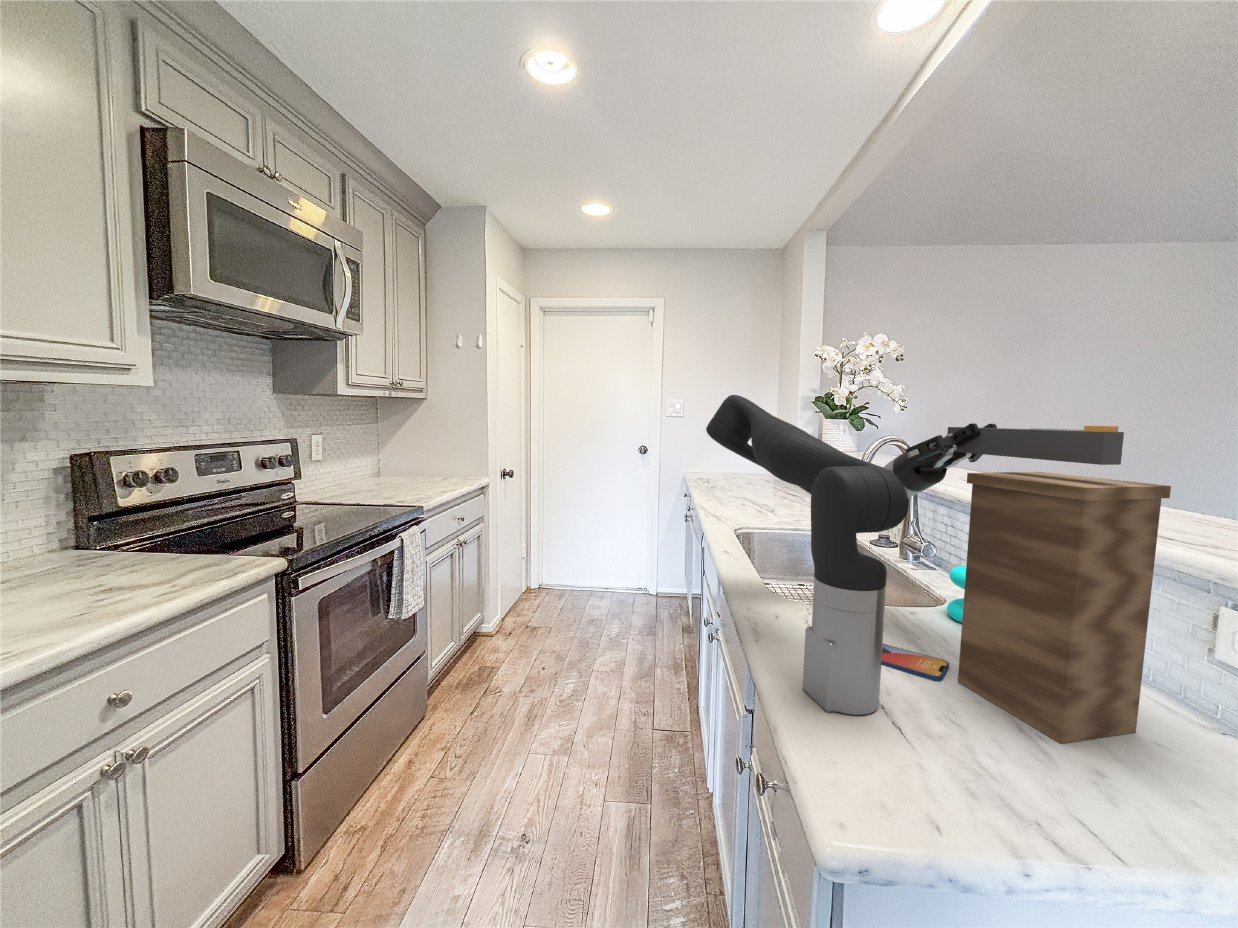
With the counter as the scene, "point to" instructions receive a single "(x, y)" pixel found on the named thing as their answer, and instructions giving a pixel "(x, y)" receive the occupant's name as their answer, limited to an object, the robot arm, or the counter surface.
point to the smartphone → (914, 663)
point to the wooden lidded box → (1059, 599)
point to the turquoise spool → (956, 605)
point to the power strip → (1050, 444)
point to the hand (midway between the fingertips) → (986, 428)
